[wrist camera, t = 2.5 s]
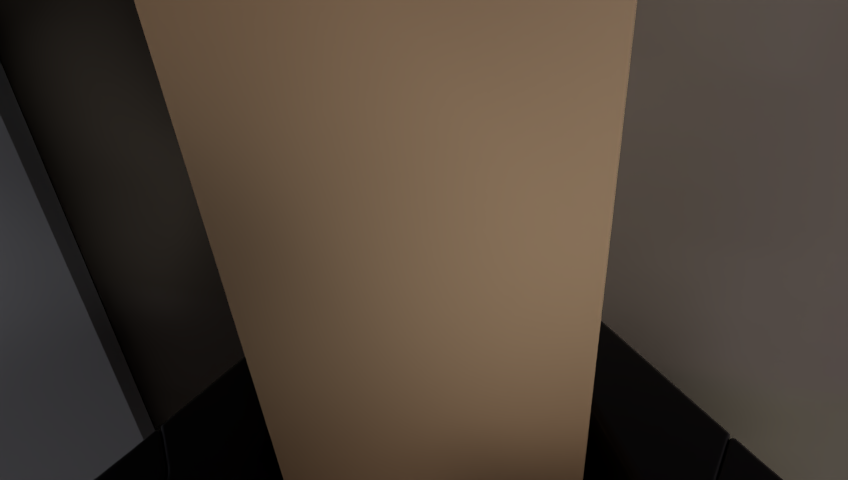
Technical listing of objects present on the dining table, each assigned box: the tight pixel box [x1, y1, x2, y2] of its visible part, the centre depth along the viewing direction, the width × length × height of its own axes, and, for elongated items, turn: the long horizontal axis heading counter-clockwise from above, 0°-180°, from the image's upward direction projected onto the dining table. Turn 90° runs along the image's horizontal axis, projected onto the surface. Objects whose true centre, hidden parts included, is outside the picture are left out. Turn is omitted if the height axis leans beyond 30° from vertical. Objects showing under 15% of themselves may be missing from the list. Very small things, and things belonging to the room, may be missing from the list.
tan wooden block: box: [134, 0, 637, 480], centre depth 7 cm, size 14×3×5 cm, turn 4°
